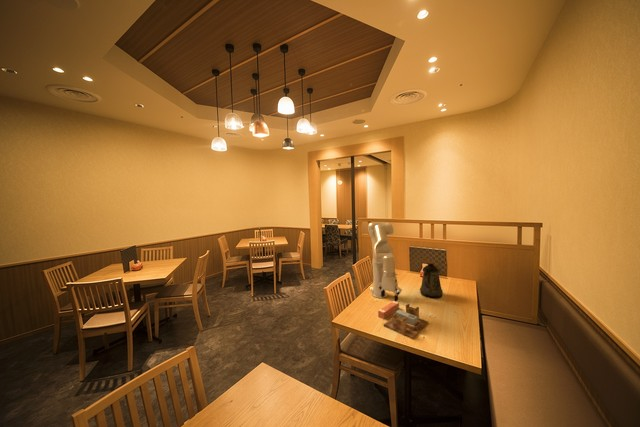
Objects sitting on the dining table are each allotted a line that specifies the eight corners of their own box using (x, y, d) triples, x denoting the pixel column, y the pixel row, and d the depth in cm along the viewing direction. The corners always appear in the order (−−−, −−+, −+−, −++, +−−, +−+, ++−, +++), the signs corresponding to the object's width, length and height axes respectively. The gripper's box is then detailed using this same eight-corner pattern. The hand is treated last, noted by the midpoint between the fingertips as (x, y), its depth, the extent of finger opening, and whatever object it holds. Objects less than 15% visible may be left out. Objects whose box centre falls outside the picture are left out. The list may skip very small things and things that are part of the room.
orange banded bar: (378, 317, 146) (378, 310, 146) (393, 306, 160) (393, 300, 160) (383, 319, 143) (383, 312, 143) (398, 308, 157) (398, 302, 157)
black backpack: (440, 291, 183) (441, 262, 181) (445, 302, 165) (445, 269, 163) (419, 289, 189) (419, 260, 187) (421, 299, 170) (421, 267, 169)
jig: (383, 326, 135) (383, 312, 135) (400, 313, 150) (400, 300, 150) (412, 339, 122) (412, 323, 122) (428, 323, 137) (428, 309, 137)
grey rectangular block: (395, 320, 140) (395, 311, 139) (399, 317, 142) (399, 308, 142) (413, 328, 130) (413, 319, 130) (417, 325, 133) (417, 316, 133)
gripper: (403, 275, 146) (404, 300, 146) (380, 270, 158) (381, 293, 159) (398, 277, 141) (398, 304, 141) (375, 272, 153) (375, 296, 154)
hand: (389, 298), depth 150 cm, fingers open, 9 cm apart
